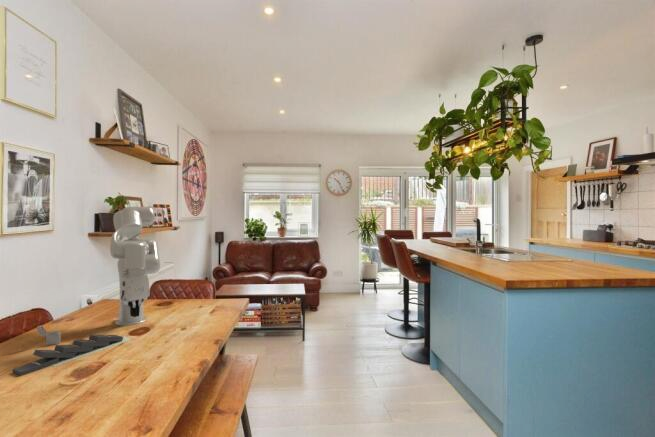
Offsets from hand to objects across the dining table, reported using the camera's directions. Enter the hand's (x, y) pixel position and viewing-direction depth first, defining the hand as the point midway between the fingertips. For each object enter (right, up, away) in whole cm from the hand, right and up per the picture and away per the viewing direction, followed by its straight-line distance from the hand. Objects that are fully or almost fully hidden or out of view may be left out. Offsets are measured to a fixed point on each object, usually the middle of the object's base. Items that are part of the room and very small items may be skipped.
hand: (134, 315), depth 138 cm
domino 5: (-3, -7, -7) cm, 10 cm away
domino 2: (-10, -7, -22) cm, 25 cm away
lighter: (-27, -8, -11) cm, 30 cm away
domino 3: (-7, -7, -17) cm, 19 cm away
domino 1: (-12, -7, -27) cm, 30 cm away
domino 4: (-5, -7, -12) cm, 14 cm away
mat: (-8, -8, -16) cm, 19 cm away
